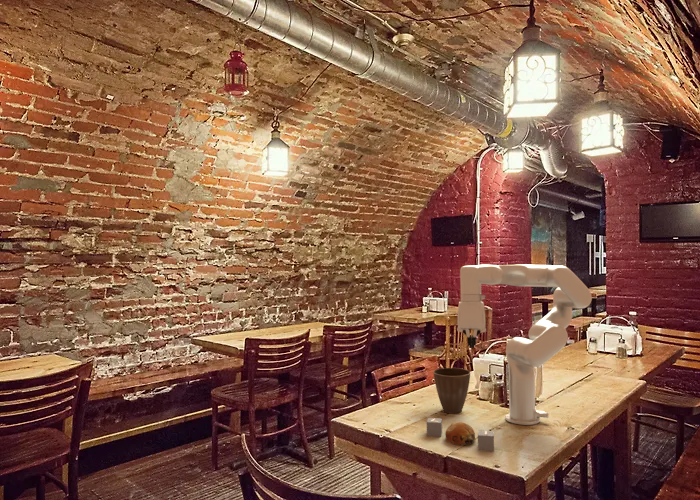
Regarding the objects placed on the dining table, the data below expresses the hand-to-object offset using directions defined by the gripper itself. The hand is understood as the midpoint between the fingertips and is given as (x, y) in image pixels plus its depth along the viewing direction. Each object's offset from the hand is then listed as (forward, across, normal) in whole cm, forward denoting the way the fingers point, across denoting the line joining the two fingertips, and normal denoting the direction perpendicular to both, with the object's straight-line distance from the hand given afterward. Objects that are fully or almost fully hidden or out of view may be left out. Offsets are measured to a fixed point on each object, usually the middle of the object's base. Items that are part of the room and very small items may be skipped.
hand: (471, 347), depth 199 cm
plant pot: (+29, +9, -17) cm, 35 cm away
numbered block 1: (+29, -5, +23) cm, 38 cm away
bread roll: (+30, +4, +18) cm, 35 cm away
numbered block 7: (+29, +13, +13) cm, 35 cm away
